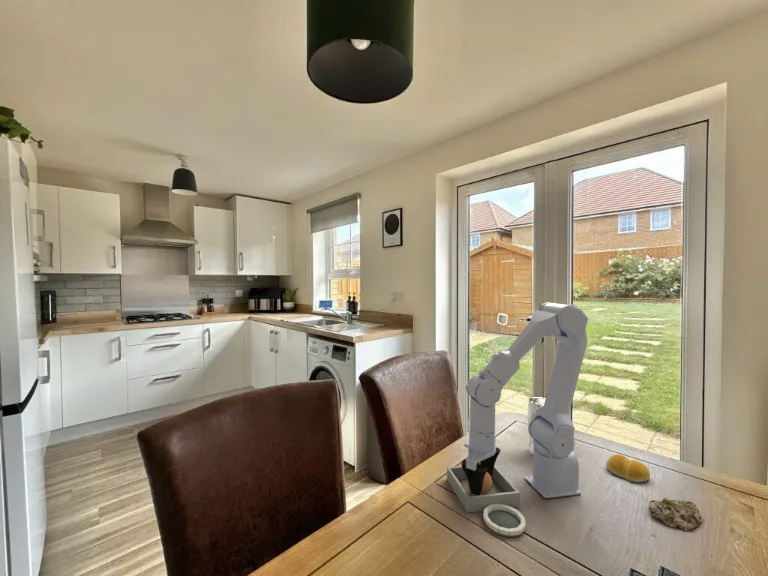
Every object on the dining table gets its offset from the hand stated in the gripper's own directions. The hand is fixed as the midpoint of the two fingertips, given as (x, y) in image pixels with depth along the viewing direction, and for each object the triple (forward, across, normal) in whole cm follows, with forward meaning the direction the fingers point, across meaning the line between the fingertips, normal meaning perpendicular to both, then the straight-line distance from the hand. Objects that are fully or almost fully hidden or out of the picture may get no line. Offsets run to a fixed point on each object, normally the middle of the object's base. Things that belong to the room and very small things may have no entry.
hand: (481, 485), depth 80 cm
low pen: (+1, 0, 0) cm, 1 cm away
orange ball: (-1, 0, 0) cm, 1 cm away
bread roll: (+2, -30, +28) cm, 41 cm away
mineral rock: (+2, -16, +36) cm, 40 cm away
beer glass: (+2, -28, +8) cm, 29 cm away
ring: (+1, +7, +7) cm, 10 cm away
